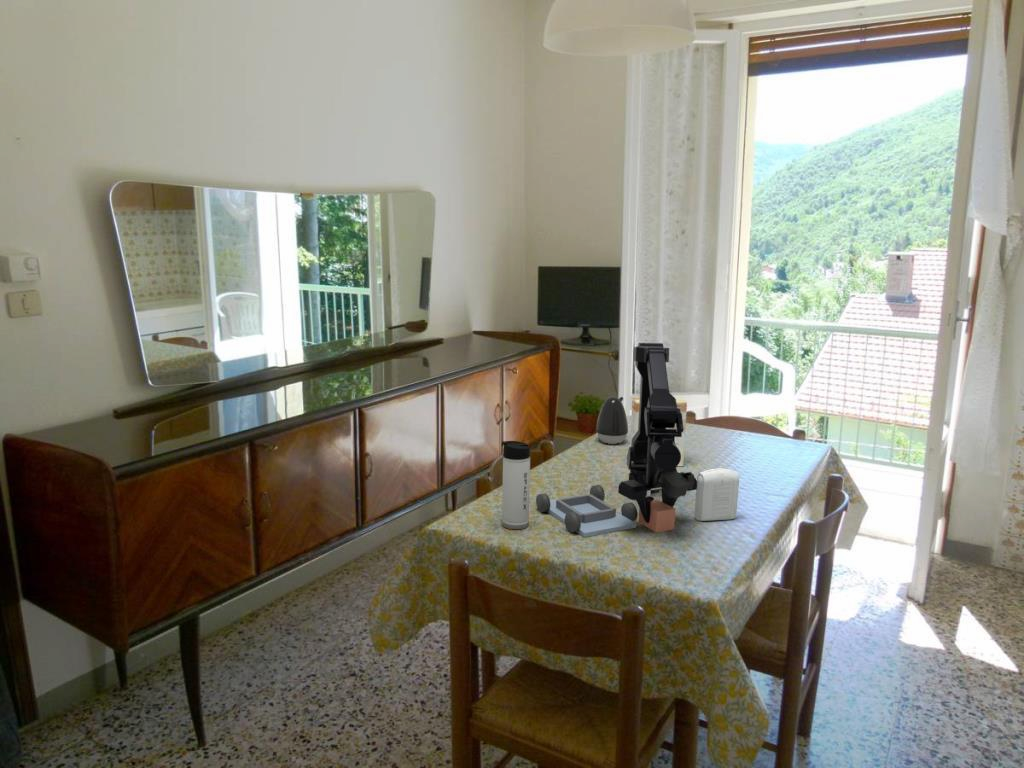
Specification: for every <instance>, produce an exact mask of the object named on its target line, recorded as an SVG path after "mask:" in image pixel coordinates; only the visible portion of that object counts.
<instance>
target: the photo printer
mask: <svg viewBox="0 0 1024 768" xmlns="http://www.w3.org/2000/svg"><path fill="white" fill-rule="evenodd" d="M696 480H697V490H695V502H694V519H695V520H697V521H699V522H703V521H704V522H706V521H707V522H709V521H722V520H724V521H725V520H735V519H736V518H737V512H738V511H737V510H738V498H739V486H740V477H739V473H738V472H737V471H735V470H733V469H730V468H729V469H728V468H722V467H721V468H720V467H717V468H712V469H707V470H703V471H701V472H700V473H698V475H697V477H696Z"/></svg>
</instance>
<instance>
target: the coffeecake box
mask: <svg viewBox="0 0 1024 768" xmlns="http://www.w3.org/2000/svg"><path fill="white" fill-rule="evenodd" d="M675 399H676V403H677V408H679V409H680V412H681V413H682V419H683V428H684V430H683V432H682V437H675V444H676V446H677V448H678V449H679V451H680V454H681V460H680V463H679V464H678V465H677V466H676V467H682V466H683V467H684V463H685V460H684V459H685V444H686V440H685V439H686V427H687V425H686V424H687V408H688V405H687V403H688V402H687V401H686V400H684V398H682V397H675ZM639 403H640V397H632V399H631V416H630V417H631V422H630V440H629V441H630V445H629V447H631V442H632V438H633V437H634V435H635V434H636V433H637V431H638V424H639ZM666 429H677V427H676V423H675V427H674V428H666ZM632 462H633V461H632Z"/></svg>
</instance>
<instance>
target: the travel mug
mask: <svg viewBox="0 0 1024 768" xmlns="http://www.w3.org/2000/svg"><path fill="white" fill-rule="evenodd" d="M501 446H502V447H503V451H502V452H503V453H502V494H501V495H502V501H501V503H502V509H501V511H502V512H501V513H502V514H501V516H502V517H501V518H502V519H501V525H502V526H503V527H504V528H505V527H506V528H505V529H507V528H508V530H512V529H520V530H525V529H526V528H528V527H529V526H530V492H531V491H530V488H531V486H530V483H531V480H530V479H531V446H530V445H529V444H528V443H526V442H523V441H517V440H505V441H504V440H502V441H501Z"/></svg>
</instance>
